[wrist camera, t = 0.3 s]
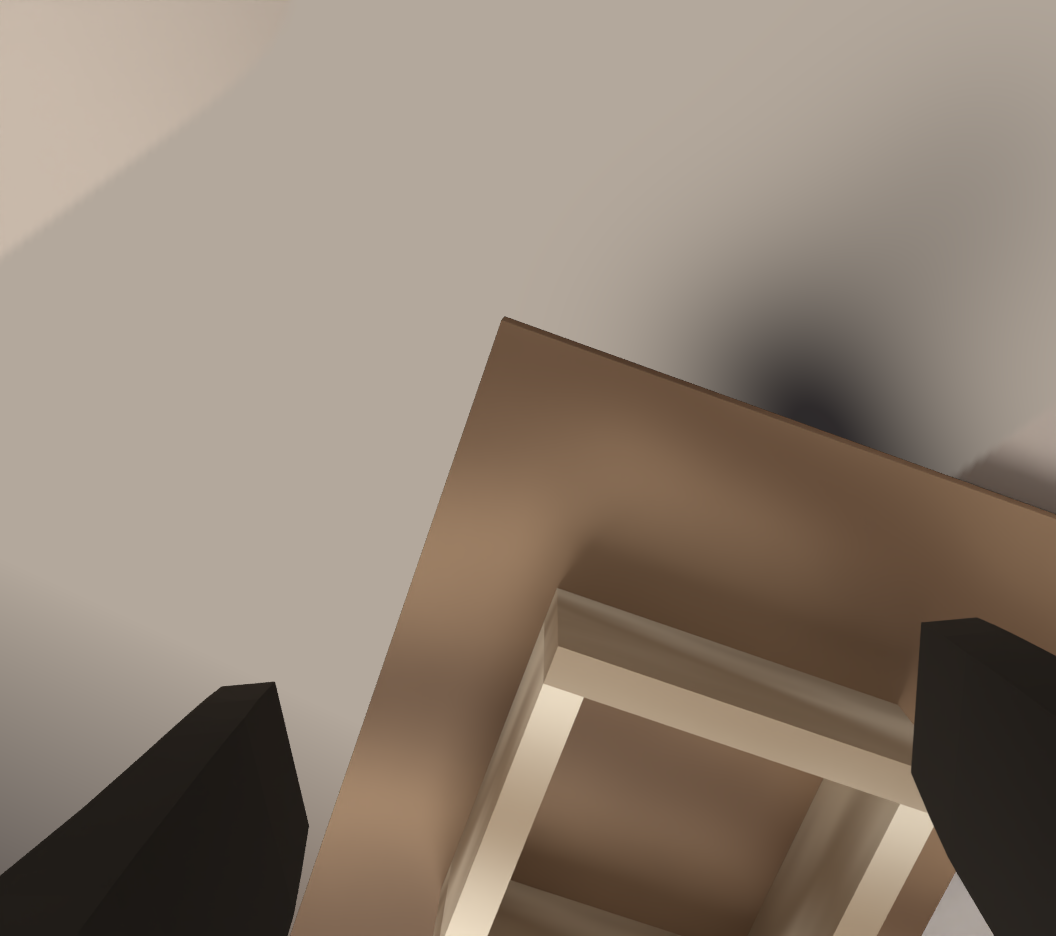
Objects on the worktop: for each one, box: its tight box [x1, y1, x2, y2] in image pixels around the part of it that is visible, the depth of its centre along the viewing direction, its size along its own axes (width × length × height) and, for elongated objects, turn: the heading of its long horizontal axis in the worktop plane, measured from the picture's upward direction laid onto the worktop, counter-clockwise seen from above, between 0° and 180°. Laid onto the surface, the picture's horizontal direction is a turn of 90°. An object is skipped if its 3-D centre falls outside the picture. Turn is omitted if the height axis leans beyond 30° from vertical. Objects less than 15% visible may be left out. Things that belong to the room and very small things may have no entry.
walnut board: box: [290, 317, 1056, 936], centre depth 20 cm, size 18×14×4 cm
